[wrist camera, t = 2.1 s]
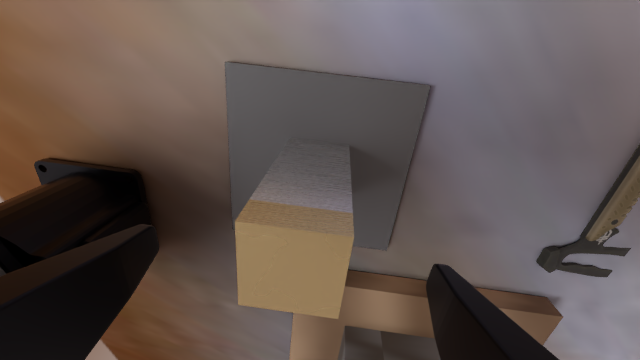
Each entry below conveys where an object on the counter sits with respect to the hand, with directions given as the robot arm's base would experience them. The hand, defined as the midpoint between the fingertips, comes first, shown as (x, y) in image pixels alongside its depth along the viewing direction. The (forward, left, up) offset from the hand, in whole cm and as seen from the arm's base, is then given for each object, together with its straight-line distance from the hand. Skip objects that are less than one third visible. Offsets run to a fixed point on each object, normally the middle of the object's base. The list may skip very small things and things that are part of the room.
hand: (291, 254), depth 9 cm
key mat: (0, 0, -8) cm, 8 cm away
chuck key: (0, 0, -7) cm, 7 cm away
